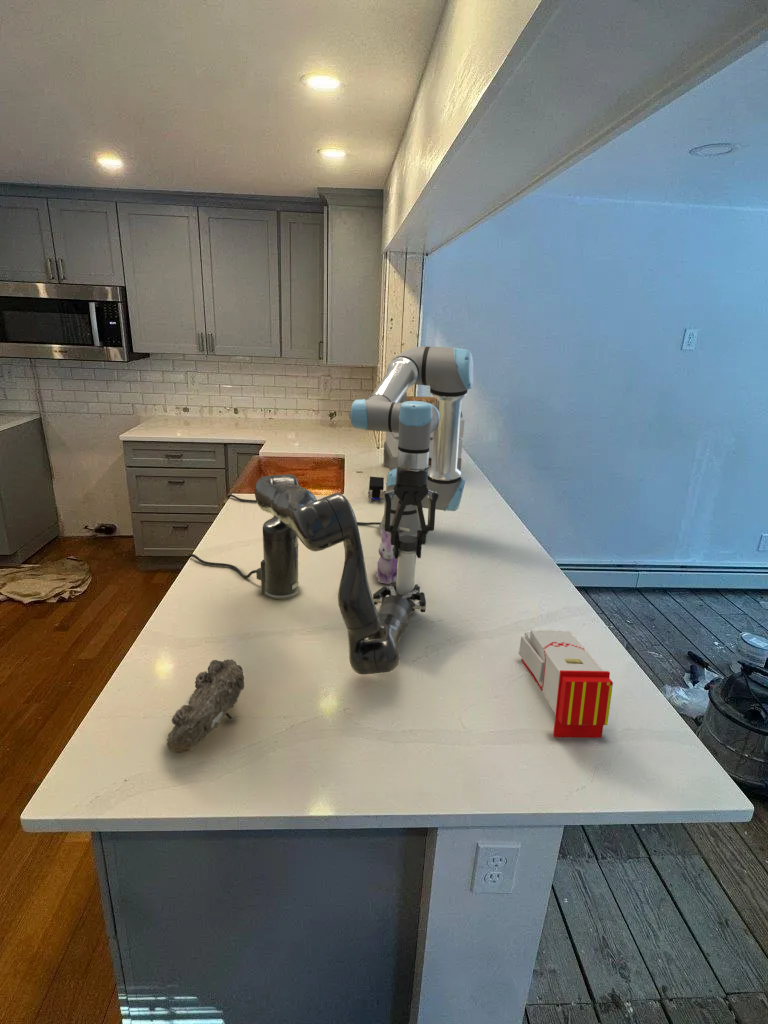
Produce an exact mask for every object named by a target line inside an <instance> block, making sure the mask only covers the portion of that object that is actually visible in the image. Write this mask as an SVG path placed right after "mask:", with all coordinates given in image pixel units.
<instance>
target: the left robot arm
mask: <svg viewBox="0 0 768 1024" xmlns="http://www.w3.org/2000/svg"><path fill="white" fill-rule="evenodd" d="M254 497H255V500H256V501H257V502H256V503H257V505H258V508H259V509H260V510H261V511H263V512H265V513H269V514H270V515H272V516H273V517H274V516H275V517H274V518H273V517H271V518H270V519H268V520H266V521H264V523H263V524H262V549H263V551H262V552H263V559H262V560H261V561H260V567H259V568H257V569H253V570H251V571H250V572H249V573H248V574H246V575H245V574H244V573H243V572H242V571H241V570H240V569H239V568H238V567H237V566H235V565H232V564H230V563H225V562H223V563H222V562H211V561H206V560H203V559H201V558H200V557H199V556H197V555H196V554H194V553H191V554H189V555H188V556H187V559H190V558H194V559H196V561H198V562H199V563H201V564H204V565H207V566H215V567H218V566H219V567H226V568H231V569H233V570H234V571H236V572H237V573H238V575H240V576H241V578H244V579H249V578H250V577H251V576H252V575H253V574H256V580H258V581H260V585H261V586H260V587H261V594H262V595H265V596H266V597H267V598H270V599H274V600H286V599H291V598H294V597H295V596H297V595H298V594H299V592H300V587H299V585H300V583H299V541H300V543H302V544H303V546H304V547H305V548H307V550H310V551H311V552H314V553H315V552H322V551H325V550H326V549H329V548H331V547H333V546H336V545H339V544H341V543H343V549H344V562H343V568H342V573H341V577H340V581H339V587H338V591H337V600H338V602H337V603H338V608H339V611H340V614H341V617H342V619H343V623H344V625H345V629H346V630H347V640H348V659H349V661H348V662H349V665H350V667H351V669H352V671H354V672H355V673H356V674H357V675H374V674H375V675H376V674H385V673H390V672H393V671H394V670H395V669H397V668H398V666H399V664H400V657H401V656H400V649H399V646H400V645H399V643H400V640H401V637H402V634H403V633H404V631H405V630H406V628H407V626H408V624H409V623H408V622H409V620H410V618H411V615H412V614H413V612H414V611H415V610H419V611H420V612H421V613H426V611H427V609H426V608H427V600H426V595H425V592H423V591H421V586H419V584H415V583H414V589H413V591H412V592H409V593H407V594H406V595H400V594H396V582H392V583H391V586H389V587H387V586H382V587H380V588H379V589H378V590H376V591H375V593H373V594H372V591H371V588H370V584H369V579H368V578H369V577H368V574H367V573H368V572H367V568H366V561H365V555H364V551H363V545H362V540H361V539H362V538H361V534H360V530H359V524H357V522H358V521H357V518H356V514H355V511H354V509H353V507H352V505H351V503H350V502H349V500H348V499H347V497H346V496H345V495H343V494H342V493H340V492H335V493H332V494H329V495H327V496H324V497H321V498H320V499H319V498H318V499H317V497H316V496H315V494H314V493H313V492H312V491H310V490H309V489H307V488H305V487H303V486H301V485H300V484H299V480H298V478H297V477H296V476H295V475H294V474H292V473H289V474H273V475H263V476H261V477H259V478H258V479H257V480H256V483H255V486H254ZM378 604H380V606H379V608H378V610H377V605H378ZM411 613H412V614H411Z"/></svg>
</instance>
